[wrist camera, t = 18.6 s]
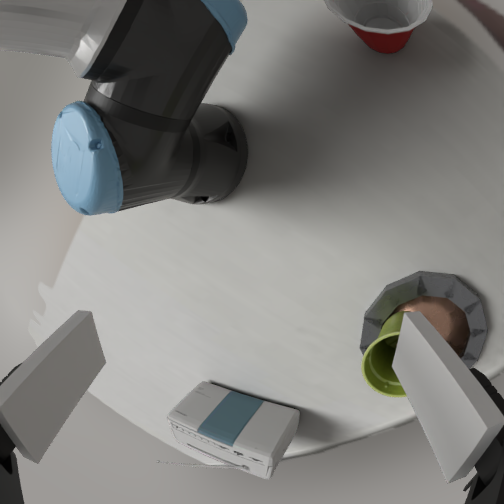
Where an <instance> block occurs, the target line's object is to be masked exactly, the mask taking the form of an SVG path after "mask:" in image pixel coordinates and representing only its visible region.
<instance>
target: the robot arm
mask: <svg viewBox="0 0 504 504" xmlns="http://www.w3.org/2000/svg"><path fill="white" fill-rule="evenodd" d="M246 25H247V13H246V10H245V8H244V6H243V5H242V3H241V2H240V1H239V0H0V50H4V51H16V52H25V53H34V54H41V55H48V56H55V57H61V58H65V59H66V60H67V61H68V62H69V63H70V65H71V67H72V69H73V71H74V73H75V75H76V76H77V77H79V78H84V79H90V80H92V81H91V84H90V86H89V89H88V92H87V94H86V97H85V99H84V102H82V101H76V102H74V103H71V104H69V105H67V106H66V107H65V108H64V109H63V111H62V112H60V114H59V115H58V117H57V120H56V122H55V125H54V130H53V135H52V147H51V148H52V149H51V150H52V163H53V169H54V173H55V177H56V181H57V184H58V186H59V189H60V191H61V193H62V195H63V197H64V198H65V200H66V201H67V203H68V204H69V205H70V206H71V207H72V208H73V209H74V210H76V211H77V212H79V213H81V214H84V215H97V214H103V213H115V212H117V211H121V210H125V209H129V208H133V207H137V206H141V205H145V204H149V203H153V202H157V201H161V200H165V199H170V198H171V199H175V200H179V201H182V202H186V203H190V204H206V203H211V202H215V201H218V200H220V199H222V198H224V197H226V196H227V195H228V194H230V193H231V192H232V191H233V190H234V189H235V187H236V186H237V185H238V183H239V182H240V180H241V178H242V176H243V174H244V171H245V168H246V163H247V155H248V149H247V141H246V137H245V133H244V131H243V129H242V127H241V125H240V123H239V122H238V120H237V119H236V118H235V117H234V116H233V115H232V114H231V113H230V112H229V111H227V110H226V109H224V108H221V107H219V106H215V105H211V104H205V103H201V102H202V100H203V99H204V97H205V95H206V93H207V91H208V90H209V88H210V86H211V84H212V82H213V81H214V79H215V77H216V76H217V74H218V72H219V70H220V69H221V67H222V65H223V64H224V62H225V60H226V59H227V57H228V56H229V55H231V54H232V53H233V52H234V50H235V44H236V43H237V41H238V39H239V37H240V36H241V34H242V32H243V31H244V29H245V27H246ZM105 363H106V360H105V357H104V354H103V351H102V348H101V344H100V341H99V337H98V334H97V330H96V327H95V323H94V319H93V315H92V312H91V311H80V310H78V311H77V312H76V313H75V314H74V315H72V316H71V317H70V318H69V319H68V320H67V321H66V322H65V323H64V324H63V325H62V326H60V327H59V328H58V329H57V330H56V331H55V332H54V333H53V334H52V335H51V336H50V337H49V338H48V339H47V340H46V341H45V342H43V343H42V344H41V345H40V346H39V347H38V348H37V349H36V350H35V351H34V352H33V353H32V354H31V355H30V356H29V357H28V358H27V359H26V360H25V361H24V362H23V363H21V364H19V365H18V366H16V367H15V368H14V369H13V370H12V371H11V372H10V373H9V374H8V376H6V377H5V378H4V379H3V380H2V382H0V504H24V500H23V495H22V490H21V485H20V479H19V473H18V466H17V458H16V455H15V453H14V452H13V450H14V448H15V447H17V449H18V450H19V451H20V453H21V454H22V455H23V456H24V457H25V458H27V459H29V460H32V461H33V462H35V463H37V464H38V463H39V462H40V460H41V459H42V457H43V455H44V453H45V452H46V451H47V449H48V447H49V446H50V444H51V443H52V441H53V439H54V438H55V437H56V435H57V433H58V432H59V430H60V429H61V427H62V426H63V424H64V423H65V421H66V419H67V418H68V417H69V415H70V414H71V412H72V411H73V409H74V408H75V406H76V405H77V403H78V402H79V400H80V399H81V398H82V396H83V395H84V393H85V392H86V390H87V389H88V388H89V386H90V385H91V383H92V382H93V380H94V379H95V378H96V376H97V375H98V373H99V372H100V370H101V369H102V368H103V366H104V365H105ZM392 368H393V370H394V372H395V373H396V375H397V377H398V379H399V381H400V383H401V385H402V387H403V389H404V391H405V393H406V395H407V397H408V399H409V401H410V403H411V405H412V407H413V409H414V411H415V413H416V415H417V417H418V419H419V422H420V423H421V426H422V428H423V430H424V432H425V434H426V436H427V438H428V440H429V443H430V445H431V447H432V449H433V452H434V454H435V456H436V459H437V461H438V463H439V465H440V468H441V470H442V473H443V475H444V477H445V480H446V482H447V484H448V483H451V482H453V481H456V480H458V479H461V478H463V477H466V476H467V474H468V473H469V472H470V471H471V469H472V468H473V467H474V466H475V468H476V470H477V474H476V475H475V476H474V477H473V478H472V480H471V481H470V482H469V483H468V484H467V485H466V486H465V488H464V490H463V491H466V490H467V489H468V488H469V487H470V486H471V487H470V491H469V493H468V497H467V499H466V501H465V504H504V399H503V398H502V396H501V395H500V394H499V393H497V390H496V389H495V387H494V386H492V384H491V382H490V381H489V380H488V379H487V377H486V376H485V375H484V374H483V373H481V372H480V371H478V370H477V369H475V368H471V369H468V368H467V366H466V365H465V364H464V363H463V361H462V360H461V359H460V358H459V356H458V355H457V354H456V353H455V352H454V350H453V349H452V348H451V347H450V345H449V344H448V343H447V342H446V341H445V340H444V338H443V337H442V336H441V335H440V334H439V332H438V331H437V330H436V329H435V328H434V327H433V326H432V324H431V323H430V322H429V321H428V320H427V319H426V318H425V316H424V315H423V314H422V313H421V312H420V311H416V312H405V313H404V316H403V321H402V326H401V330H400V335H399V339H398V343H397V348H396V352H395V356H394V360H393V363H392Z"/></svg>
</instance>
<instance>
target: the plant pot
mask: <svg viewBox="0 0 504 504" xmlns="http://www.w3.org/2000/svg"><path fill="white" fill-rule="evenodd" d="M405 312H410V311H400V312H397V313H395V314H393V315H392V316H390V317H389V318H388V319H387V320H386V321H385V323H384V325H383V327H382V329H381V332H380V334H379V336H378V338H377V339H376V340H375V341H374V342H373V343H371V344H370V346H369V347H368V348H367V350H366V351H365V353H364V356H363V359H362V364H361V369H362V374H363V377H364V379H365V381H366V382H367V384H368V385H369V386H370V387H371V388H372V389H373V390H375V391H376V392H378V393H380V394H382V395H385V396H389V397H406V396H407V395H406V393H405V391H404V389H403V387H402V385H401V383H400V381H399V379H398V377H397V375H396V373H395V372H394V370H393V368H392V363H393V360H394V356H395V352H396V348H397V346H396V344H397V343H398V339H399V335H400V330H401V326H402V321H403V316H404V313H405Z"/></svg>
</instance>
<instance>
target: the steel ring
mask: <svg viewBox="0 0 504 504" xmlns="http://www.w3.org/2000/svg"><path fill="white" fill-rule="evenodd" d="M400 311H410V312H416V311H420V312H421V313H422V314H423V315H424V316H425V318H426V319H427V320H428V321H429V322H430V323H431V324H432V326H433V327H434V328H435V329H436V330H437V331H438V332H439V334H440V335H441V336H442V337H443V338H444V340H445V341H446V342H447V343H448V344H449V345H450V347H451V348H452V349H453V350H454V352H455V353H456V354H457V355H458V356H459V358H460V359H461V360H462V361H463V363H464V364H465V365H466V366H467V368H468V369H469V368H470V367H471V366H472V365H473V364H474V363H475V362H476V361H478V358H479V355H480V352H481V349H482V347H483V344H484V341H485V338H486V334H487V331H488V329H487V325H486V320H485V316H484V312H483V308H482V304H481V300H480V298H479V296H478V294H476V293H475V292H474V291H473V290H472V289H470V288H469V287H468V286H467V285H466V284H464V283H463V282H462V281H461V280H460V279H458V278H457V277H456V276H455V275H453V274H443V273H433V272H423V271H419V272H416V273H414V274H412V275H410V276H407V277H405V278H403V279H401V280H398V281H396V282H394V283H391V284H389V285H387V286H386V287H385V288H384V290H383V291H382V292H381V294H380V295H379V296H378V297H377V299H376V300H375V301H374V302H373V304H372V305H371V306H370V307H369V309H368V310H367V311H366V313H365V316H364V324H363V331H362V338H361V344H360V349H361V351H362V353H363V356H364V353H365V351H366V350H367V348H368V347H369V346H370V344H371V343H373V342H374V341H375V340H376V339H377V338H378V336H379V334H380V332H381V329H382V327H383V325H384V323H385V321H386V320H387V319H388V318H389V317H390V316H392V315H393V314H395V313H397V312H400ZM396 346H397V344H396Z"/></svg>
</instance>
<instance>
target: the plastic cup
mask: <svg viewBox="0 0 504 504" xmlns="http://www.w3.org/2000/svg"><path fill="white" fill-rule="evenodd" d="M324 1H325V3H326V5H327V7H328V9H329V10H331V11H332V12H333V13H334V14H335V15H337V16H338V17H339V18H340V19H341V20H342V21H344V22H345V23H347V24H348V25H349V26H350V27H351V28H352V29H353V30H354V32H355V33H356V34H357V35H358V36H359V37H360V38H361V39H362V40H363V41H364V42H365V43H366V44H367V45H368V46H369V47H370V48H372V49H374V50H376V51H378V52H380V53H387V54H389V53H394V52H397V51H399V50H400V49H402V48H403V47H404V46H405V44H406V42H407V41H408V39H409V37H410V35H411V33H412V32H413V30H414V28H416V27H417V26H418V25H420V24H422V23H423V22H425V21H426V19H427V17H428V15H429V13H430V11H431V9H432V7H433V4H432V0H324Z"/></svg>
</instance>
